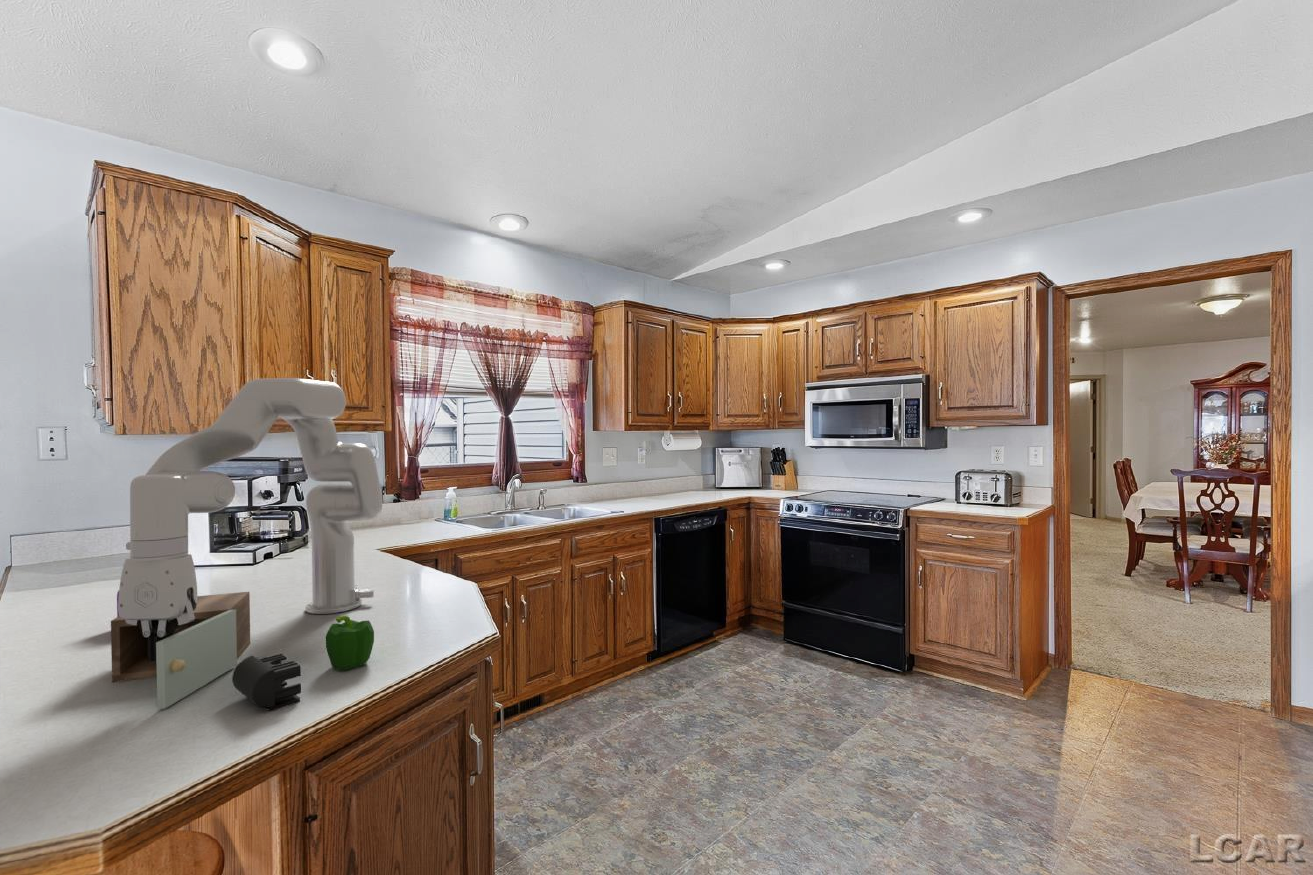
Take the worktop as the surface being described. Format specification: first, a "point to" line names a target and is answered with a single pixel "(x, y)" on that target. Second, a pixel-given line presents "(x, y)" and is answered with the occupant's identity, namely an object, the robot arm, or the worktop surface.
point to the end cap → (268, 681)
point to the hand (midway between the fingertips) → (160, 658)
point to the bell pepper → (349, 643)
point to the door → (195, 657)
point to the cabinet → (133, 646)
